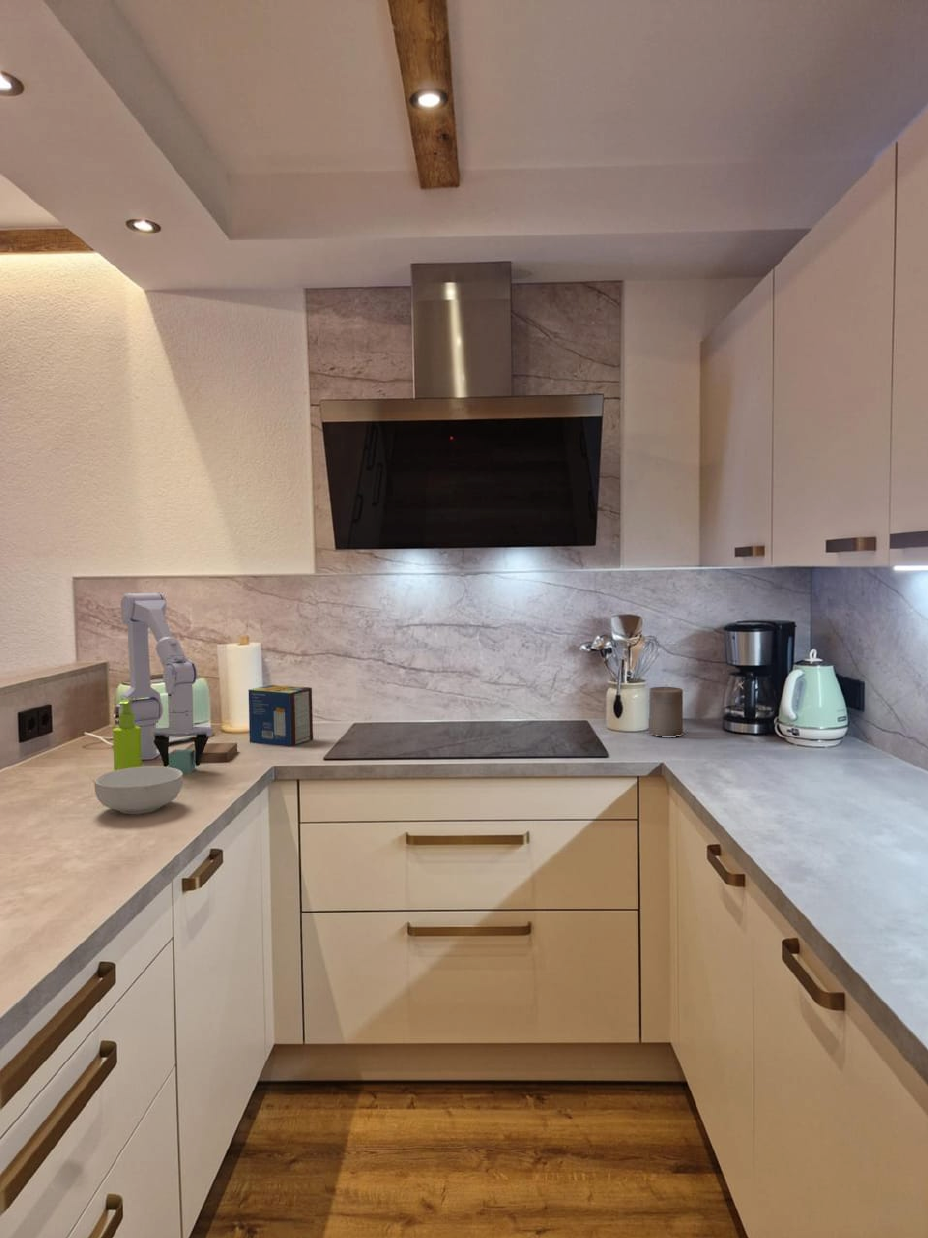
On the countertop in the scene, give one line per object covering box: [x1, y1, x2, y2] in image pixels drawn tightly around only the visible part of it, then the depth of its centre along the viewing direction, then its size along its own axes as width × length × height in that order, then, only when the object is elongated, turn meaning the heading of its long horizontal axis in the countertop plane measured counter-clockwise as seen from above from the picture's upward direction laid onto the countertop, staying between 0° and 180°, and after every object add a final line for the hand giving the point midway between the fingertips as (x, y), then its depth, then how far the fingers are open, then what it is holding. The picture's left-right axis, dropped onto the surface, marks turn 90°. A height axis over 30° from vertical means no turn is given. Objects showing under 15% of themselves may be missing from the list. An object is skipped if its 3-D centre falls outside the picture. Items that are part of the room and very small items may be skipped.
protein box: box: [247, 684, 314, 747], centre depth 233 cm, size 10×15×16 cm
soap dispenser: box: [112, 698, 143, 771], centre depth 185 cm, size 6×7×20 cm
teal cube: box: [168, 748, 196, 775], centre depth 198 cm, size 5×5×5 cm
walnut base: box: [185, 742, 238, 764], centre depth 213 cm, size 12×12×3 cm
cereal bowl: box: [93, 765, 184, 815], centre depth 166 cm, size 17×17×7 cm
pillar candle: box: [648, 684, 684, 736], centre depth 237 cm, size 10×10×15 cm
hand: (182, 765), depth 198 cm, fingers open, 7 cm apart
